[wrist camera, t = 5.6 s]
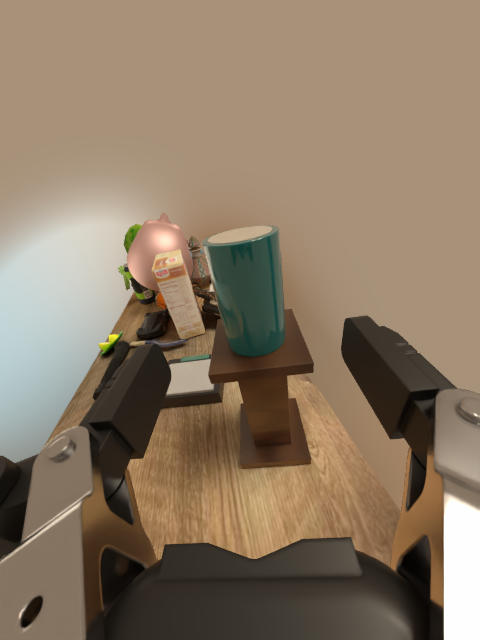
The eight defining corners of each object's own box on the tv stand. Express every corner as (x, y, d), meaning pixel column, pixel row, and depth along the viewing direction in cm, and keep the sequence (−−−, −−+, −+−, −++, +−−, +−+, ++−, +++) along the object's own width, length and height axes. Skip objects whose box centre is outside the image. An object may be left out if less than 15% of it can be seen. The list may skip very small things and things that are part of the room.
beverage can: (158, 296, 83) (143, 259, 75) (154, 303, 78) (136, 264, 70) (143, 298, 84) (126, 262, 76) (138, 306, 78) (119, 267, 70)
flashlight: (132, 348, 55) (126, 340, 54) (111, 400, 41) (104, 390, 40) (120, 351, 55) (115, 343, 53) (96, 404, 41) (88, 394, 39)
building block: (174, 285, 61) (165, 281, 60) (164, 302, 59) (155, 298, 58) (174, 293, 66) (165, 289, 66) (165, 309, 64) (156, 305, 64)
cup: (280, 317, 24) (273, 221, 18) (291, 352, 18) (285, 234, 13) (229, 324, 24) (207, 233, 19) (225, 360, 19) (194, 250, 14)
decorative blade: (186, 345, 51) (191, 337, 55) (185, 342, 50) (190, 333, 55) (107, 354, 53) (118, 345, 57) (105, 351, 52) (117, 342, 57)
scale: (225, 362, 45) (222, 350, 43) (222, 402, 37) (218, 390, 35) (173, 368, 46) (168, 357, 45) (157, 408, 38) (151, 397, 36)
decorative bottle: (196, 280, 87) (196, 231, 74) (219, 288, 85) (222, 238, 72) (183, 291, 80) (180, 239, 67) (207, 300, 78) (209, 247, 65)
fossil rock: (196, 303, 66) (202, 286, 66) (236, 318, 65) (242, 301, 65) (179, 305, 53) (186, 283, 52) (229, 324, 52) (237, 302, 51)
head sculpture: (191, 226, 87) (200, 206, 60) (187, 288, 93) (194, 296, 65) (137, 216, 81) (120, 189, 53) (137, 283, 86) (120, 291, 59)
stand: (295, 402, 34) (291, 308, 25) (311, 463, 27) (313, 362, 17) (241, 407, 35) (217, 319, 26) (241, 468, 28) (207, 375, 18)
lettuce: (176, 241, 87) (170, 220, 94) (120, 238, 78) (120, 215, 86) (174, 271, 99) (170, 251, 107) (127, 271, 91) (125, 249, 99)
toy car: (172, 311, 70) (167, 299, 68) (164, 337, 57) (158, 324, 55) (150, 316, 70) (145, 304, 67) (138, 343, 57) (130, 330, 55)
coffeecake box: (178, 314, 67) (155, 254, 56) (200, 308, 68) (181, 248, 57) (179, 341, 54) (149, 269, 44) (206, 333, 55) (183, 261, 45)
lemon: (100, 359, 51) (90, 353, 50) (104, 352, 59) (95, 347, 57) (124, 334, 53) (114, 327, 52) (125, 330, 61) (116, 324, 59)
